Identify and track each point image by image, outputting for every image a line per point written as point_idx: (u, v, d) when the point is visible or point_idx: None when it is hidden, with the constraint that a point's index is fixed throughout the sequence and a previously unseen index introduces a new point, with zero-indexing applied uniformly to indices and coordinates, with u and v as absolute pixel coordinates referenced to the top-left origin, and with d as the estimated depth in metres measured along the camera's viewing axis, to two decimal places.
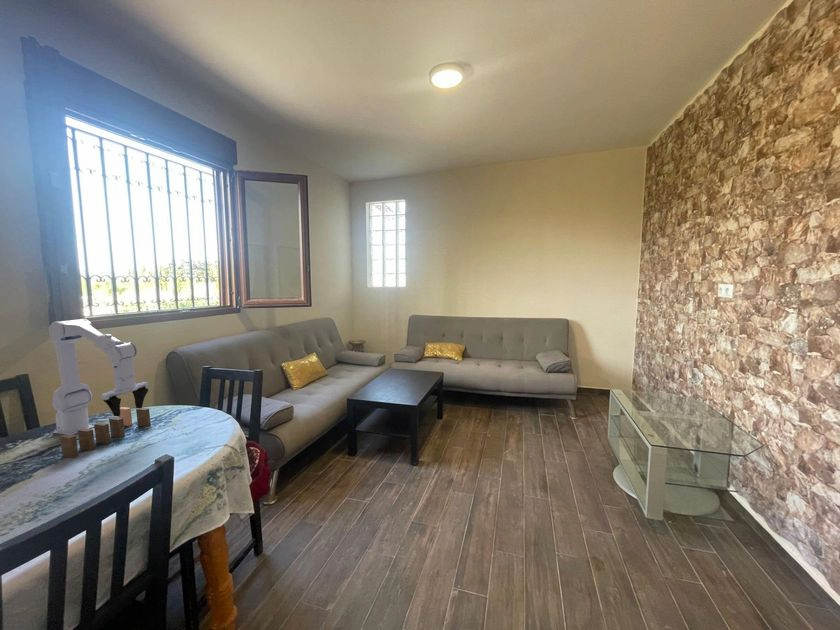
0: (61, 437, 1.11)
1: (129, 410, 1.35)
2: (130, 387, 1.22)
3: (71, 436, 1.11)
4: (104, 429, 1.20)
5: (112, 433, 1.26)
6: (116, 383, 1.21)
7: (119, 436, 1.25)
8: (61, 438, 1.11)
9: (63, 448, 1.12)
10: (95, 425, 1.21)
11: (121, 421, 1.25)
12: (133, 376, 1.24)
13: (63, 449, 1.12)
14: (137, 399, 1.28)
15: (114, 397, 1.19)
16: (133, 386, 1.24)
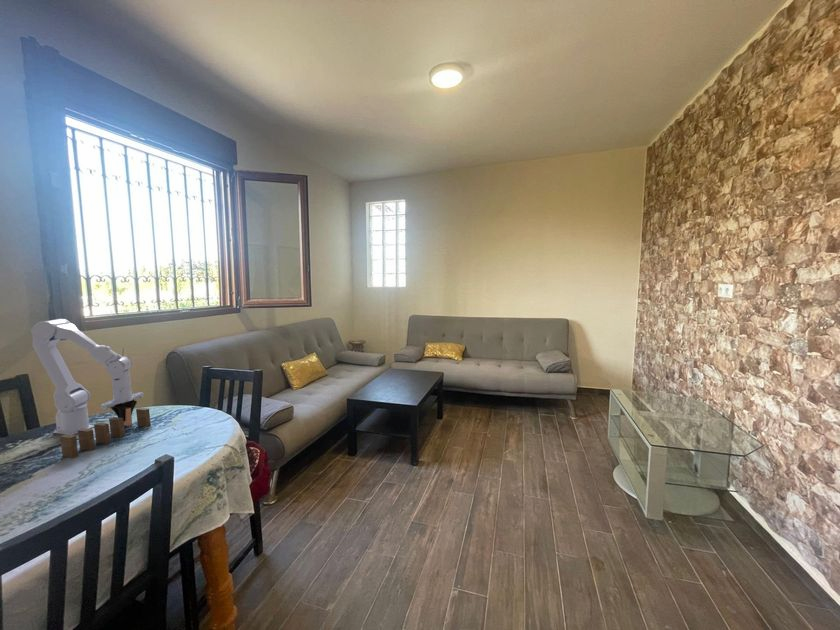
0: (61, 437, 1.11)
1: (129, 410, 1.35)
2: (127, 398, 1.34)
3: (71, 436, 1.11)
4: (104, 429, 1.20)
5: (112, 433, 1.26)
6: (114, 394, 1.32)
7: (119, 436, 1.25)
8: (61, 438, 1.11)
9: (63, 448, 1.12)
10: (95, 425, 1.21)
11: (121, 421, 1.25)
12: (129, 387, 1.35)
13: (63, 449, 1.12)
14: None
15: (120, 404, 1.33)
16: (130, 397, 1.35)
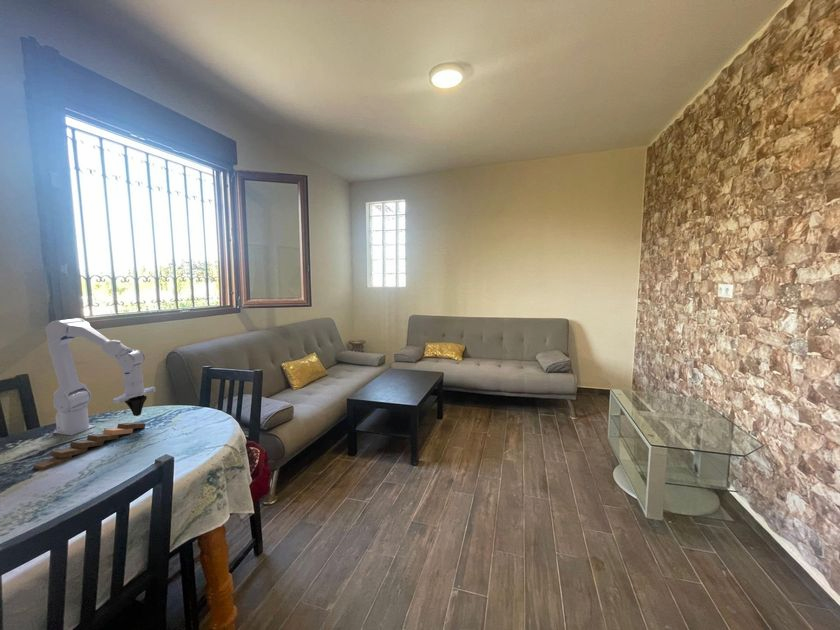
0: None
1: (115, 431, 1.23)
2: (139, 392, 1.31)
3: (41, 468, 1.04)
4: (85, 447, 1.14)
5: None
6: (126, 388, 1.29)
7: (115, 438, 1.24)
8: None
9: None
10: (72, 446, 1.14)
11: (100, 438, 1.19)
12: (142, 382, 1.32)
13: None
14: None
15: (134, 398, 1.31)
16: (142, 391, 1.32)
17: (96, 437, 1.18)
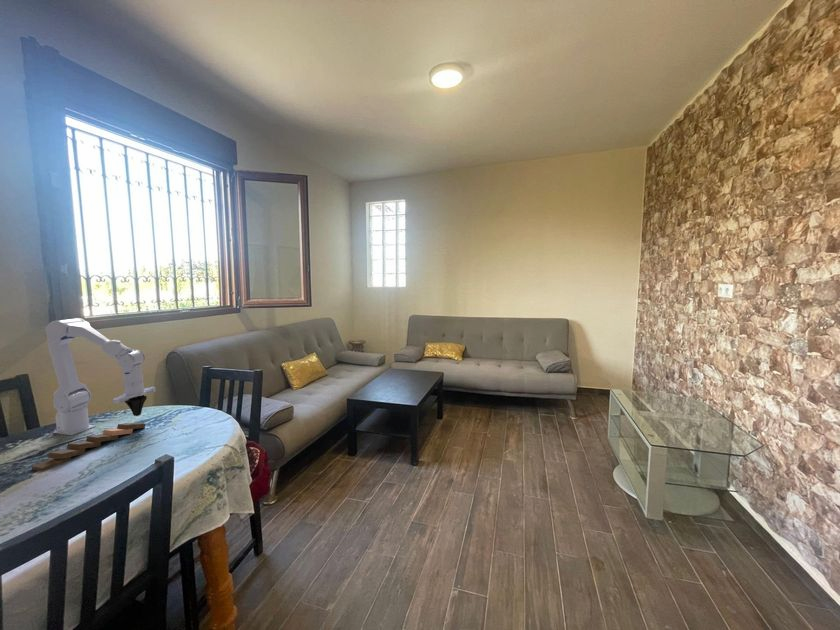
0: None
1: (115, 432, 1.23)
2: (139, 392, 1.31)
3: (40, 469, 1.04)
4: (83, 448, 1.14)
5: None
6: (126, 388, 1.29)
7: None
8: None
9: None
10: (69, 448, 1.13)
11: (99, 438, 1.18)
12: (142, 382, 1.32)
13: None
14: None
15: (134, 398, 1.31)
16: (142, 391, 1.32)
17: (95, 438, 1.18)
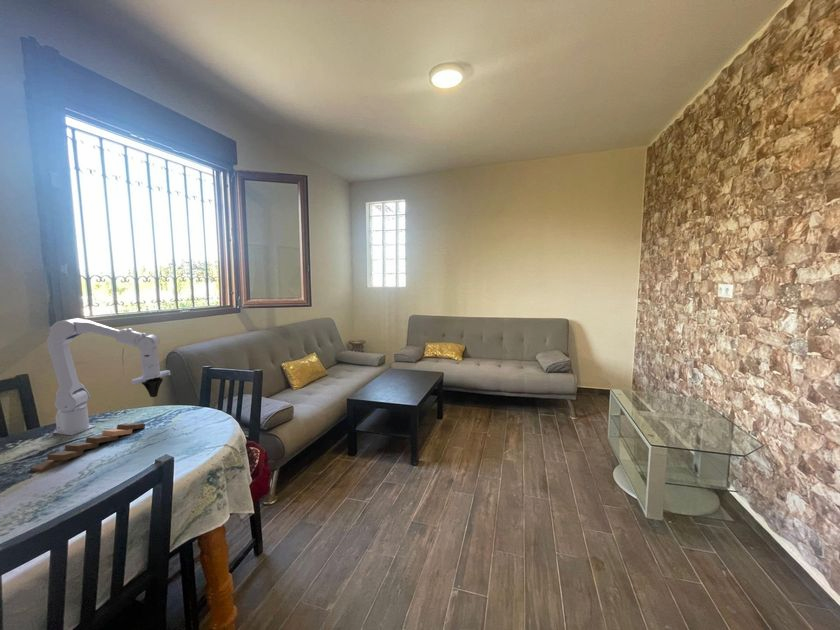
0: None
1: (115, 432, 1.23)
2: (155, 374, 1.37)
3: (39, 470, 1.03)
4: None
5: None
6: (143, 370, 1.35)
7: (114, 439, 1.23)
8: None
9: None
10: None
11: (99, 439, 1.18)
12: (158, 364, 1.38)
13: None
14: None
15: (151, 380, 1.37)
16: (158, 373, 1.38)
17: (95, 439, 1.17)
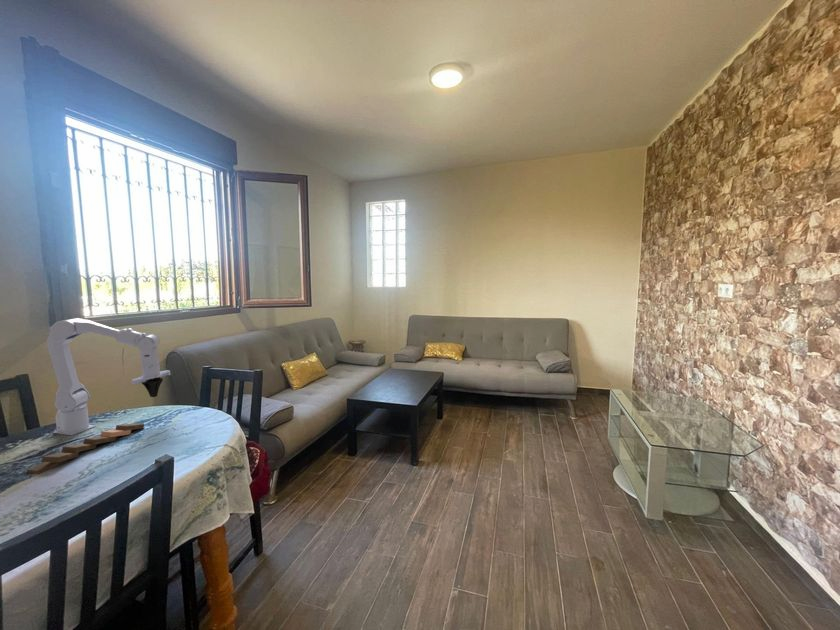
0: None
1: (114, 433, 1.22)
2: (155, 374, 1.37)
3: (36, 472, 1.02)
4: (79, 451, 1.12)
5: None
6: (143, 370, 1.35)
7: (112, 440, 1.23)
8: None
9: None
10: (64, 451, 1.11)
11: (97, 441, 1.17)
12: (158, 364, 1.38)
13: None
14: None
15: (151, 380, 1.37)
16: (158, 373, 1.38)
17: (93, 440, 1.16)
